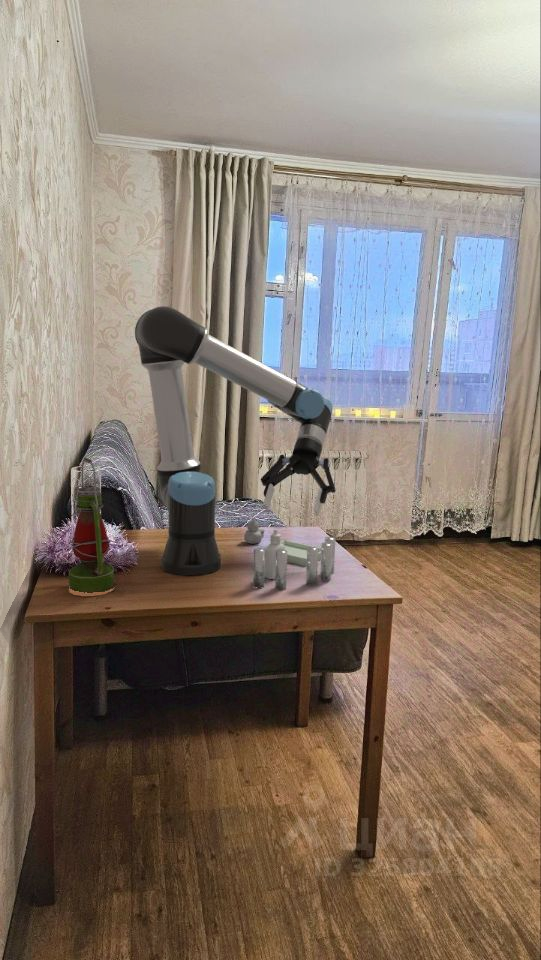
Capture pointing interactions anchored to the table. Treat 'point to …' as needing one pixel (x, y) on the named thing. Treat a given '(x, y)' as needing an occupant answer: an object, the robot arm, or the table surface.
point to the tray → (297, 552)
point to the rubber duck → (253, 532)
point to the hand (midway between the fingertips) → (290, 510)
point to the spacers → (311, 569)
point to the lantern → (90, 543)
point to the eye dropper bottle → (272, 555)
